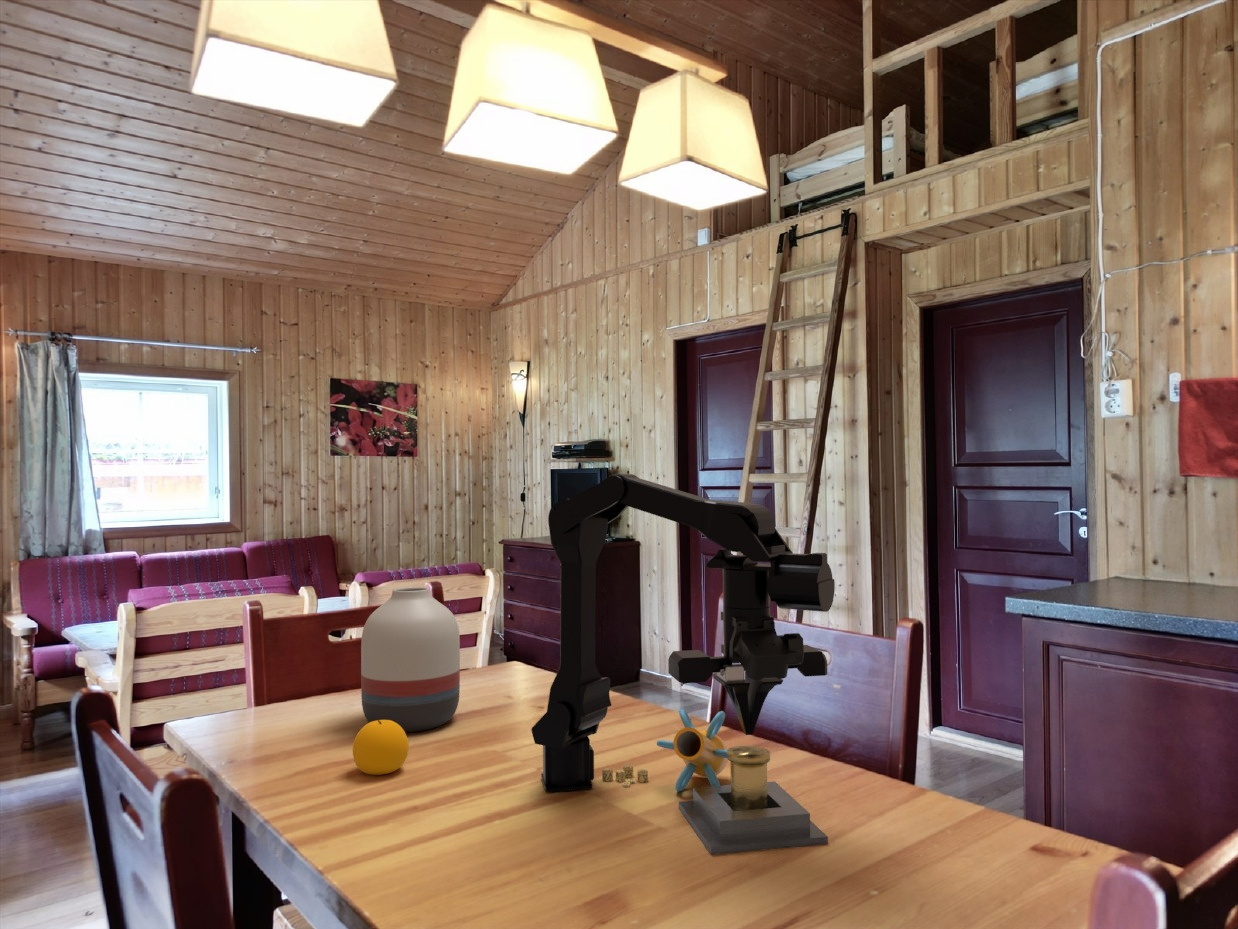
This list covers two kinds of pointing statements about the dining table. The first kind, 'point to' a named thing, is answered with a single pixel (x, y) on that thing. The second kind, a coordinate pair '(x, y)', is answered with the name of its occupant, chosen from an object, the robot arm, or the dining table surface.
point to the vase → (410, 661)
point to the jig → (749, 821)
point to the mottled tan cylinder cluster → (625, 775)
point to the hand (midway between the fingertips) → (748, 734)
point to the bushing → (748, 777)
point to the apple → (380, 747)
